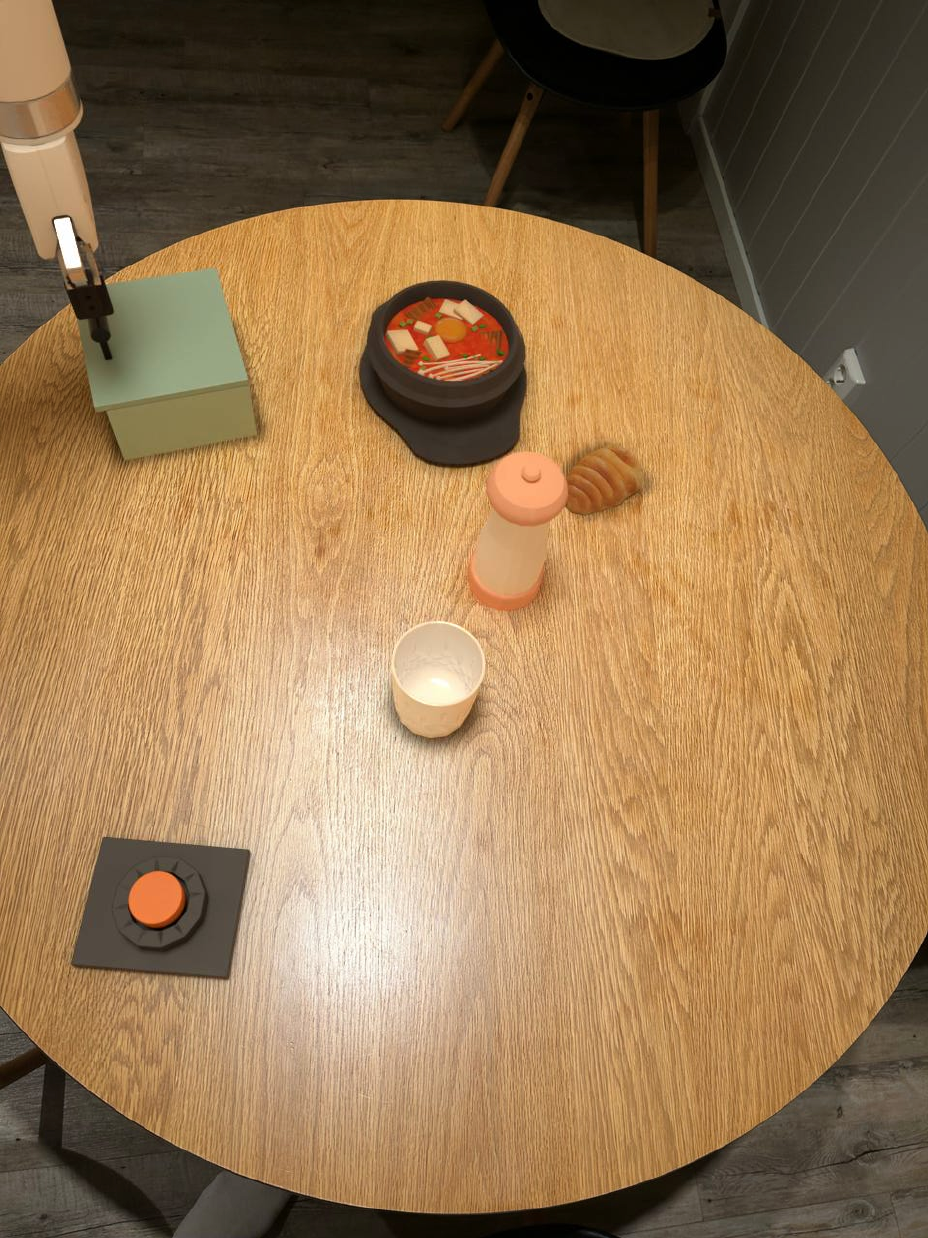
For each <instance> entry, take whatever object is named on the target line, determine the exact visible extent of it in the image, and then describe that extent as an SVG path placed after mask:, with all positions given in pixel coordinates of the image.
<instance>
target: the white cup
mask: <svg viewBox="0 0 928 1238" xmlns="http://www.w3.org/2000/svg"><path fill="white" fill-rule="evenodd" d="M390 661H391V663H390V664H391V683H392V685H391V686H392V695H393V701H394V708H395V710H396V714H397V716H398V719H399V721H400V723H401V724H402V725H404V726H405V728H407V729H408V730H409V731H410V732H411V733H413V734H414V735H417V736H420V737H424V738H428V739H434V738H440V737H441V738H442V737H447V736H449V735H451V734H452V733H453V732H456V730H458V729H459V728H461V727H462V725H463V723H464V722H465V720H466V719H467V717H468V716H469V714H470V712H471V710H472V708H473V705H474V703H475V701H476V699H477V696H478V693H479V691H480V688H481V685H482V683H483V680H484V677H485V674H486V667H487V666H486V665H487V664H486V656H485V653H484V650H483V647H482V646H481V644H480V643H479V640H477V638H476V637H475V636H474V635H473V634H472V633H471V632H470V631H469V630H467V629H466V628H464V627H462V626H460V625H458V624H455V623H453V622H449V621H444V620H430V621H425V622H422V623H419V624H416V625H414V626H412V627H410V628H409V629H408V630H407V631H405V632H404V633H403V634H402V635H401V636H400V637H399V639H398V640H397V642H396V643H395V645H394V648H393V651H392V654H391V660H390Z"/></svg>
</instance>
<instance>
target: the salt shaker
mask: <svg viewBox="0 0 928 1238" xmlns="http://www.w3.org/2000/svg"><path fill="white" fill-rule="evenodd" d="M566 478H567V477H566V476H565V474H564V471H563V470H562V469H561V468H560V466H558V464H556V462H555V461H554V460H553V459H551V458H549V457H547V456H546V455H544V454H541V453H538V452H534V451H519V452H514V453H509V454H508V455H505V456H504V457H503V458H500V459H499V460H498V461H497V462H496V463H495V464H494V466H493V467H492V468H491V469H490V471H489V473H488V475H487V478H486V480H485V493H486V496H487V499H488V501H489V504H490V508H489V512H488V517H487V518H486V521H485V523H484V524H483V527H482V528H481V530H480V532H479V535H478V537H477V540H476V546H475V549H474V550H473V552H472V555H471V557H470V561H469V564H468V570H467V583H468V586H469V588H470V591H471V593H472V594H473V595H474V597H475V598H476V599H477V601H479V603H481V604H483V605H485V606H486V607H487V608H491V609H494V610H497V611H502V612H503V611H504V612H512V611H516V610H521V609H523V608H525V607H526V606H527V605H529V604H531V603H532V602H533V600H534V599H535V598H536V597H537V596H538V593H539V590H540V587H541V583H542V581H543V577H544V575H545V573H544V571H545V570H544V564H545V561H546V558H547V555H548V537H549V536H548V533H549V528H550V524H551V522H552V520H553V519H555V518H557V517H558V515H560V514H561V512H562V511H563V510H564V508H566V507H565V505H566V502H567V498H568V487H567V480H566Z"/></svg>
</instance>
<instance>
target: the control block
mask: <svg viewBox="0 0 928 1238" xmlns="http://www.w3.org/2000/svg"><path fill="white" fill-rule="evenodd" d="M251 854H252V853H251V851H250V849H248V848H247V849H246V848H236V847H225V846H212V845H204V844H203V845H201V844H191V843H178V842H169V841H157V840H145V839H133V838H122V837H112V836H111V837H110V836H102V837H101V842H100V846H99V850H98V854H97V858H96V862H95V865H94V870H93V874H92V878H91V883H90V886H89V891H88V894H87V898H86V901H85V905H84V909H83V915H82V918H81V921H80V927H79V930H78V934H77V938H76V942H75V946H74V950H73V953H72V958H71V962H70V965H71V966H73V967H75V968H86V969H99V970H111V971H123V972H135V973H145V974H147V973H148V974H160V975H171V976H183V977H185V976H186V977H197V978H209V979H219V980H220V979H223V980H229V979H230V977H231V976H230V975H231V969H232V965H233V959H234V958H233V957H234V951H235V945H236V941H237V935H238V929H239V924H240V917H241V912H242V906H243V900H244V894H245V890H246V889H245V888H246V883H247V877H248V870H249V865H250V860H251V856H252V855H251ZM154 871H164V872H167V873H170V874H171V875H173V876H174V877H175V878H176V879H177V880H178V881H179V882H180V884H181V885H182V886H183V888H184V891H185V895H186V902H185V906H184V909H183V911H182V913H181V914H180V916H179V917H178V918H177V919H176V920H175V921H174V922H173V923H171V924H169V925H167V926H165V927H160V928H152V927H148V926H146V925H144V924H142V923H141V922H140V921H138V920H137V919H136V918H135V917H134V916H133V915H132V913H131V911H130V908H129V902H128V901H129V894H130V891H131V889H132V887H133V885H134V884H135V882H136V881H137V880H138V879H139V878H141V877H142V876H144V875H145V874H147V873H150V872H154Z"/></svg>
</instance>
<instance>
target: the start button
mask: <svg viewBox="0 0 928 1238" xmlns="http://www.w3.org/2000/svg"><path fill="white" fill-rule="evenodd" d="M128 902H129V908H130V911H131V913H132V915H133V916H134V917H135V918H136V919H137V920H138V921H140V922H141V923H142V924H144V925H146V926H148V927H152V928H160V927H165V926H167V925H169V924H171V923H173V922H174V921H175V920H176V919H177V918H178V917H179V916H180V914H181V913H182V911H183V909H184V906H185V902H186V895H185V891H184V888H183V886H182V885H181V884H180V882H179V881H178V880H177V879H176V878H175V877H174V876H173V875H171V874H170V873H167V872H164V871H154V872H150V873H147V874H145V875H144V876H142V877H141V878H139V879H138V880H137V881H136V882H135V884H134V885H133V887H132V889H131V891H130V894H129V901H128Z"/></svg>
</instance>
